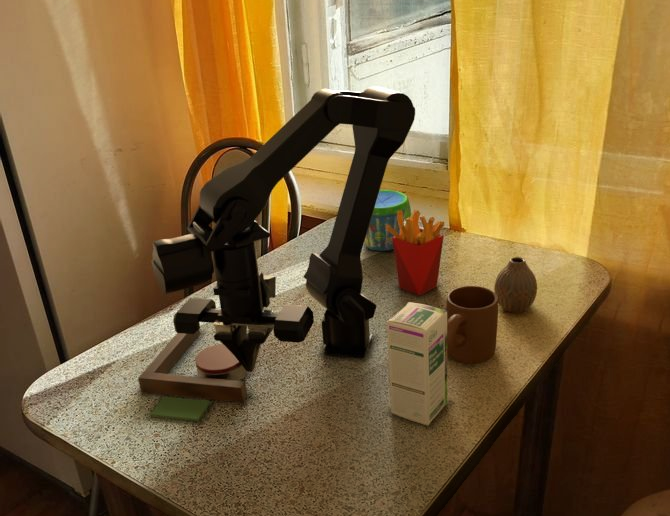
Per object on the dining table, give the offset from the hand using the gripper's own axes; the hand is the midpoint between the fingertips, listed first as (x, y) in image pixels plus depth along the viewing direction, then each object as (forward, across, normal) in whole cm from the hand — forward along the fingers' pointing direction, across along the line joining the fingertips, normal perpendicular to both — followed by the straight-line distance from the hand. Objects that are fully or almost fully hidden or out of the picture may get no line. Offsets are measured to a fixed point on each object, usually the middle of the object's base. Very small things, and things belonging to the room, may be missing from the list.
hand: (250, 370), depth 97 cm
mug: (+2, -30, -10) cm, 32 cm away
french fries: (+2, -20, -31) cm, 37 cm away
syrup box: (+2, -25, +3) cm, 25 cm away
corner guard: (+2, +7, -3) cm, 8 cm away
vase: (+2, -37, -27) cm, 46 cm away
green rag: (+2, +7, +8) cm, 11 cm away
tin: (+2, +5, 0) cm, 5 cm away
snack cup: (+2, -10, -50) cm, 51 cm away
